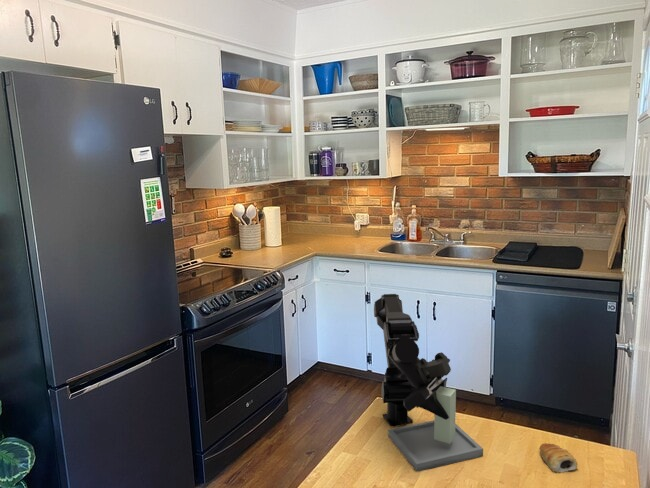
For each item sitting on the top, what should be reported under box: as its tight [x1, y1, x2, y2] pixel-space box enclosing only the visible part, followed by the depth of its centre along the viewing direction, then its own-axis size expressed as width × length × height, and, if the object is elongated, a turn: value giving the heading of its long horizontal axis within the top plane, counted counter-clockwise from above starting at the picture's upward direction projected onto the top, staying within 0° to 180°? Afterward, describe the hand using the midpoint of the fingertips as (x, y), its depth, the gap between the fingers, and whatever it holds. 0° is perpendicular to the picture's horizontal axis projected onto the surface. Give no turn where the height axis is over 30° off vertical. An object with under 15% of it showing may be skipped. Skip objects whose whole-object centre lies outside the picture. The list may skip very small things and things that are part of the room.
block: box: [433, 386, 457, 444], centre depth 125 cm, size 4×4×12 cm
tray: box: [387, 419, 484, 473], centre depth 127 cm, size 16×18×2 cm
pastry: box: [538, 442, 578, 474], centre depth 120 cm, size 9×7×4 cm
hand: (450, 414), depth 124 cm, fingers closed on block, 4 cm apart
